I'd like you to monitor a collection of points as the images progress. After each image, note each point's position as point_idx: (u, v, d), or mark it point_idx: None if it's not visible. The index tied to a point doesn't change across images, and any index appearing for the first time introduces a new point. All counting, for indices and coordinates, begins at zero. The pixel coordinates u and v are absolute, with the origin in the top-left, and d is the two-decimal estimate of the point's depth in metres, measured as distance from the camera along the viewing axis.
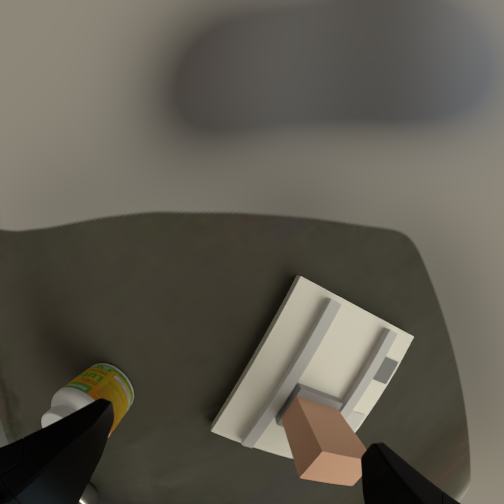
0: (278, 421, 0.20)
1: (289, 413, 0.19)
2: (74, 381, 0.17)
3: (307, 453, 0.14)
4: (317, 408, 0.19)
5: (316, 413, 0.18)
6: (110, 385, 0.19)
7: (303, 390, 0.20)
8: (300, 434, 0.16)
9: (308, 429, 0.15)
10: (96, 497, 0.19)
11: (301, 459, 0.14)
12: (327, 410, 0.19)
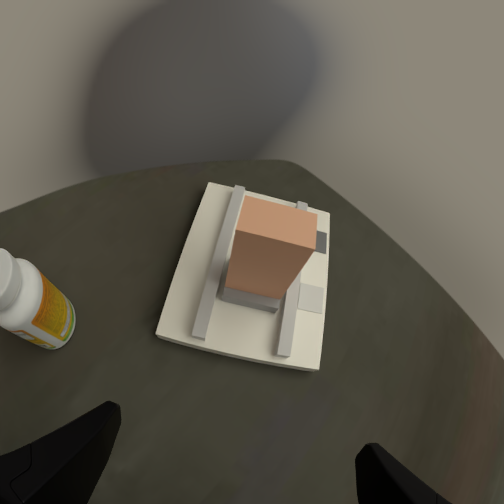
0: (223, 292, 0.21)
1: None
2: None
3: None
4: None
5: None
6: None
7: None
8: None
9: None
10: None
11: None
12: None
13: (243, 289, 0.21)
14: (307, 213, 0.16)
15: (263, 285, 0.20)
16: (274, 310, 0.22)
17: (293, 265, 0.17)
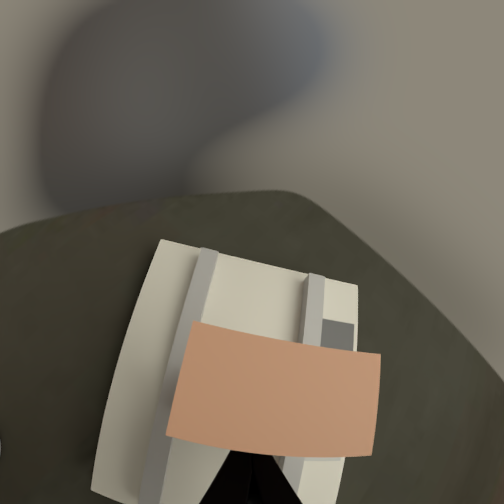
0: None
1: None
2: None
3: None
4: None
5: None
6: None
7: None
8: None
9: None
10: None
11: None
12: None
13: None
14: (358, 358, 0.06)
15: None
16: None
17: None
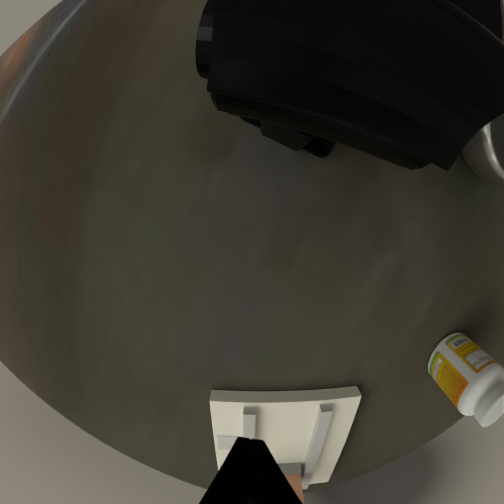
0: (300, 471, 0.22)
1: None
2: None
3: None
4: None
5: None
6: None
7: None
8: None
9: None
10: (470, 160, 0.15)
11: None
12: None
13: (286, 477, 0.21)
14: None
15: None
16: None
17: None
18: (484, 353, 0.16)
